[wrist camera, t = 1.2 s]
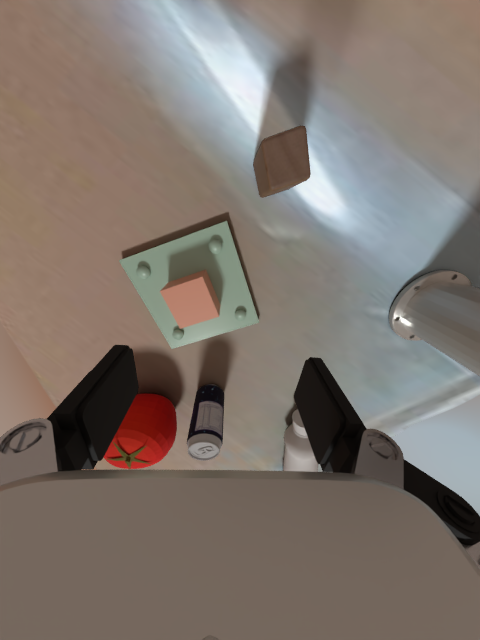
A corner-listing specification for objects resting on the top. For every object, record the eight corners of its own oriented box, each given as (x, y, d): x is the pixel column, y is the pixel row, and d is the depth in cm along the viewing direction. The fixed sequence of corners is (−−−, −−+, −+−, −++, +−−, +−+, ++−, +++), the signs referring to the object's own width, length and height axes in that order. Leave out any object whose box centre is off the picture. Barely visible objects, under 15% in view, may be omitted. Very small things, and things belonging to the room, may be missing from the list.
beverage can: (191, 386, 41) (178, 447, 30) (216, 377, 40) (211, 436, 29) (205, 404, 43) (196, 465, 32) (228, 395, 42) (228, 456, 32)
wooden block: (259, 198, 26) (270, 191, 19) (252, 161, 24) (260, 138, 17) (289, 188, 25) (312, 177, 18) (284, 150, 24) (307, 121, 17)
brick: (205, 269, 29) (202, 276, 25) (220, 305, 31) (219, 316, 28) (168, 282, 29) (159, 291, 26) (185, 316, 32) (180, 328, 29)
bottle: (319, 485, 55) (331, 409, 42) (311, 523, 48) (322, 448, 35) (288, 467, 60) (289, 394, 47) (276, 500, 53) (274, 426, 40)
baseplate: (226, 220, 27) (226, 220, 25) (258, 319, 34) (259, 324, 33) (122, 259, 29) (116, 261, 27) (173, 345, 36) (171, 350, 34)
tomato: (136, 427, 46) (109, 489, 35) (108, 385, 40) (64, 445, 29) (190, 419, 45) (178, 479, 35) (170, 374, 39) (148, 432, 29)
